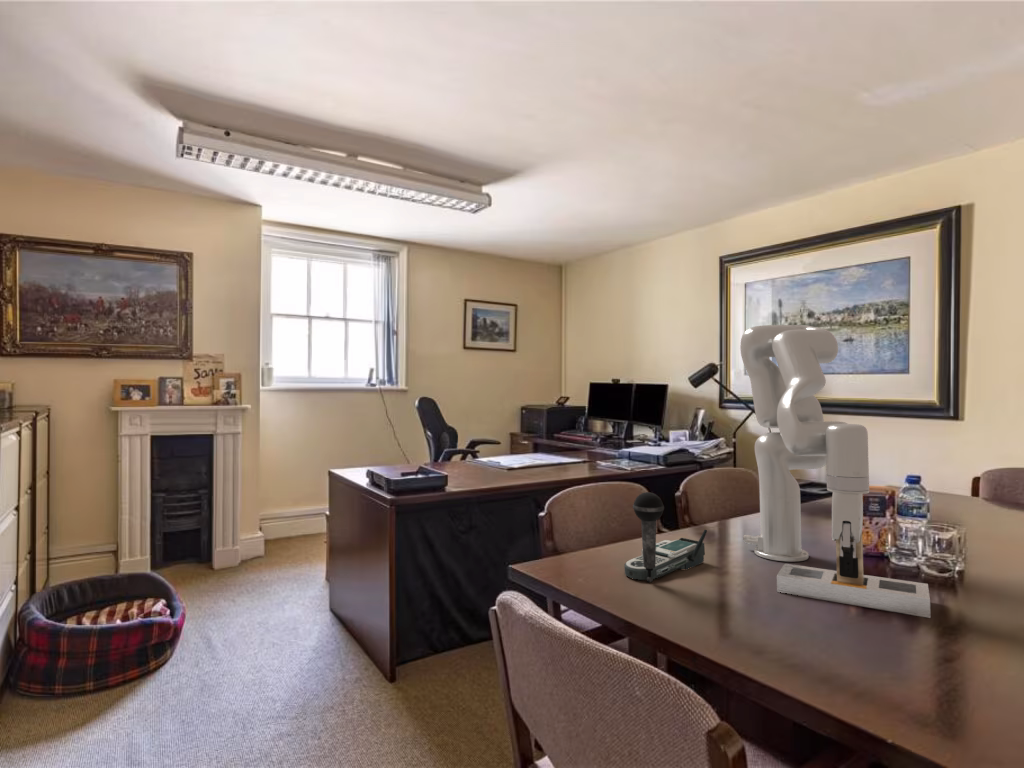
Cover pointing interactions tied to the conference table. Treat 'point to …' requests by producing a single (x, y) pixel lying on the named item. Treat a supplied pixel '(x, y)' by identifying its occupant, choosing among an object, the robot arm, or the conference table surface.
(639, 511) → the microphone
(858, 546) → the peg
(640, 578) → the communication device
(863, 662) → the conference table surface
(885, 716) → the conference table surface
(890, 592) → the white slotted block
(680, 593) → the conference table surface
